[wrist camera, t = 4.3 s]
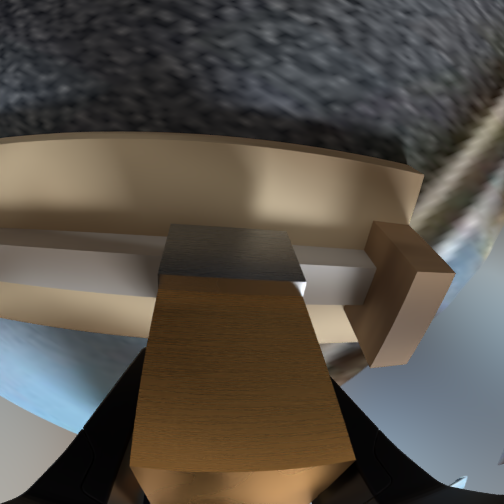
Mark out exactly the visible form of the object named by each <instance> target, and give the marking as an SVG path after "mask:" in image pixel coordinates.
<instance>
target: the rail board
mask: <svg viewBox="0 0 504 504" xmlns="http://www.w3.org/2000/svg"><path fill="white" fill-rule="evenodd" d="M423 178H424V175H423V174H422V173H420V172H419V171H417V170H415V169H414V168H412V167H410V166H409V165H406V164H402V163H397V162H393V161H388V160H383V159H379V158H374V157H369V156H364V155H359V154H354V153H348V152H343V151H337V150H331V149H325V148H319V147H313V146H306V145H299V144H292V143H285V142H277V141H269V140H260V139H251V138H241V137H230V136H218V135H205V134H189V133H169V132H126V131H113V132H71V133H52V134H38V135H25V136H15V137H5V138H0V318H5V319H10V320H16V321H21V322H27V323H32V324H38V325H45V326H51V327H57V328H64V329H71V330H78V331H86V332H94V333H102V334H111V335H121V336H131V337H141V338H148V337H149V331H150V326H151V321H152V316H153V311H154V306H155V302H156V297H157V292H158V270H159V266H160V262H161V258H162V254H163V251H164V247H165V243H166V239H167V236H168V232H169V228H170V225H171V224H186V225H202V226H217V227H232V228H246V229H260V230H273V231H286V232H287V234H288V236H289V239H290V241H291V244H292V246H293V249H294V251H295V254H296V256H297V259H298V261H299V264H300V266H301V269H302V272H303V274H304V277H305V279H306V282H307V283H306V286H305V290H304V294H303V299H304V302H305V304H306V307H307V310H308V313H309V316H310V319H311V322H312V325H313V328H314V331H315V334H316V336H317V339H318V342H319V343H343V342H359V344H360V347H361V349H362V351H363V353H364V356H365V358H366V360H367V363H368V365H369V367H370V368H376V367H385V366H394V365H402V364H407V362H408V361H409V359H410V358H411V356H412V354H413V353H414V351H415V349H416V348H417V346H418V344H419V343H420V341H421V339H422V337H423V336H424V334H425V332H426V330H427V329H428V327H429V325H430V323H431V321H432V320H433V318H434V316H435V314H436V312H437V310H438V308H439V306H440V305H441V303H442V301H443V299H444V297H445V295H446V293H447V291H448V289H449V287H450V285H451V282H452V280H453V278H454V276H455V274H456V273H455V272H454V271H453V270H452V269H451V268H450V267H449V265H448V264H447V263H446V262H445V261H444V260H443V259H442V258H441V257H440V256H439V255H438V254H437V253H436V252H435V251H434V250H433V249H432V248H431V247H430V246H429V245H428V244H427V243H426V242H425V241H424V240H423V239H422V238H421V237H420V236H419V235H418V234H417V233H416V232H415V231H414V230H413V229H412V228H411V227H410V226H409V223H410V220H411V217H412V214H413V211H414V207H415V204H416V201H417V198H418V195H419V191H420V188H421V185H422V181H423Z"/></svg>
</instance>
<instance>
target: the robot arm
mask: <svg viewBox="0 0 504 504" xmlns="http://www.w3.org/2000/svg"><path fill="white" fill-rule="evenodd" d="M145 353H146V347H145V348H143V349H142V350H141V351H140V353H139V354H138V355H137V357H136V358H135V359H134V360H133V362H132V363H131V364H130V366H129V367H128V368H127V370H126V371H125V372H124V374H123V375H122V376H121V377H120V379H119V380H118V381H117V383H116V384H115V385H114V387H113V388H112V389H111V391H110V392H109V393H108V395H107V396H106V397H105V399H104V400H103V401H102V403H101V404H100V405H99V407H98V408H97V409H96V411H95V412H94V413H93V415H92V416H91V417H90V419H89V420H88V421H87V423H86V424H85V425H84V427H83V429H84V430H83V429H81V431H80V432H79V433H78V435H77V436H76V438H75V439H74V440H73V441H72V443H71V444H70V445H69V446H68V448H67V449H66V450H65V451H64V453H63V454H62V455H61V456H60V457H59V458H58V459H57V460H56V461H55V462H54V463H53V464H52V465H51V466H50V467H49V469H48V470H47V471H46V472H45V473H44V474H43V475H42V476H41V477H40V478H39V479H38V480H37V481H36V482H35V483H34V484H33V485H32V486H31V487H30V488H29V489H28V490H27V491H26V492H24V493H23V494H21V495H20V496H18V497H16V498H14V499H12V500H9V501H7V502H4V503H1V504H151V503H150V501H149V500H148V498H147V496H146V495H145V493H144V491H143V490H142V488H141V486H140V484H139V483H138V481H137V479H136V477H135V475H134V473H133V472H132V470H131V468H130V456H131V447H132V439H133V431H134V423H135V416H136V408H137V402H138V395H139V388H140V382H141V376H142V370H143V364H144V358H145ZM329 376H330V375H329ZM330 379H331V382H332V385H333V388H334V391H335V394H336V397H337V400H338V403H339V407H340V410H341V413H342V416H343V419H344V423H345V426H346V429H347V432H348V435H349V439H350V442H351V445H352V449H353V452H354V455H355V458H356V460H355V461H354V462H353V463H352V464H351V465H350V466H349V467H348V468H347V469H346V470H345V471H344V472H343V473H342V474H341V475H340V476H339V477H338V478H337V479H336V480H335V481H334V482H333V483H332V484H331V485H330V486H329V487H328V488H327V489H325V490H324V491H323V492H322V493H321V494H320V495H319V496H318V497H317V498H315V499H314V500H313V501H312V504H504V495H496V494H489V493H482V492H476V491H470V490H465V489H460V488H455V487H450V486H447V485H445V484H443V483H441V482H439V481H437V480H436V479H434V478H433V477H432V476H430V475H429V474H428V473H427V472H426V471H424V470H423V469H422V468H421V467H419V466H418V465H417V464H416V463H415V462H413V461H412V460H411V459H410V458H409V457H407V456H406V455H405V454H404V453H403V452H402V451H401V450H399V449H398V448H397V447H396V446H395V445H394V444H393V443H392V442H391V441H390V440H389V439H388V438H387V437H386V436H385V435H384V434H383V433H382V431H380V430H378V427H377V426H376V425H375V424H374V423H373V422H372V421H371V420H370V419H369V418H368V417H367V416H366V415H365V413H364V412H363V411H362V410H361V409H360V408H359V407H358V406H357V405H356V404H355V403H354V402H353V400H352V399H351V398H350V397H349V396H348V395H347V394H346V393H345V392H344V391H343V390H342V389H341V387H340V386H339V385H338V384H337V383H336V382H335V381H334V380H333V379H332V378H331V377H330Z"/></svg>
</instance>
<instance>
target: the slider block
mask: <svg viewBox="0 0 504 504" xmlns="http://www.w3.org/2000/svg"><path fill="white" fill-rule="evenodd" d="M306 283H307V282H306V279H305V277H304V274H303V272H302V269H301V266H300V264H299V261H298V259H297V256H296V254H295V251H294V249H293V246H292V244H291V241H290V239H289V236H288V234H287V232H286V231H273V230H260V229H246V228H232V227H217V226H202V225H186V224H171V225H170V228H169V232H168V236H167V239H166V243H165V247H164V251H163V254H162V258H161V262H160V266H159V270H158V292H157V297H156V302H155V306H154V311H153V316H152V321H151V326H150V331H149V337H148V342H147V347H146V353H145V358H144V364H143V370H142V376H141V382H140V388H139V395H138V402H137V408H136V416H135V423H134V431H133V439H132V447H131V456H130V468H131V470H132V472H133V473H134V475H135V477H136V479H137V481H138V483H139V484H140V486H141V488H142V490H143V491H144V493H145V495H146V496H147V498H148V500H149V501H150V503H151V504H310V503H311V502H312V501H313V500H314V499H315V498H317V497H318V496H319V495H320V494H321V493H322V492H323V491H324V490H325V489H327V488H328V487H329V486H330V485H331V484H332V483H333V482H334V481H335V480H336V479H337V478H338V477H339V476H340V475H341V474H342V473H343V472H344V471H345V470H346V469H347V468H348V467H349V466H350V465H351V464H352V463H353V462H354V461H355V460H356V458H355V455H354V452H353V449H352V445H351V442H350V439H349V435H348V432H347V429H346V426H345V423H344V419H343V416H342V413H341V410H340V407H339V403H338V400H337V397H336V394H335V391H334V388H333V385H332V382H331V379H330V376H329V373H328V369H327V366H326V363H325V360H324V357H323V354H322V351H321V348H320V345H319V342H318V339H317V336H316V334H315V331H314V328H313V325H312V322H311V319H310V316H309V313H308V310H307V307H306V304H305V302H304V299H303V294H304V290H305V286H306Z"/></svg>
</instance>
